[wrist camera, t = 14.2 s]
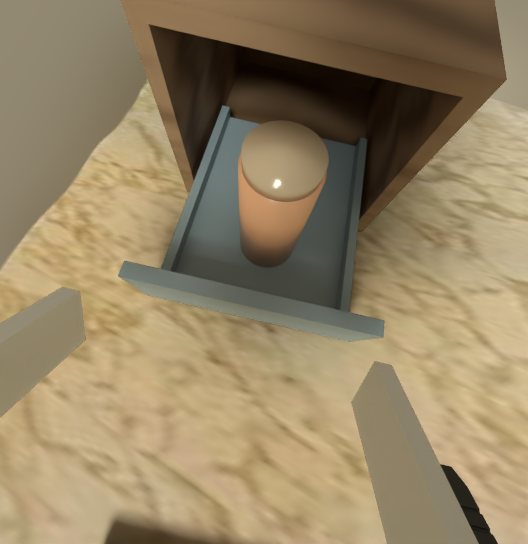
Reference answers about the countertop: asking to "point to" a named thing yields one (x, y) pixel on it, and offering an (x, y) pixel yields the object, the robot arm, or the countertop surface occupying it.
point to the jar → (278, 188)
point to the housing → (322, 74)
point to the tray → (255, 279)
